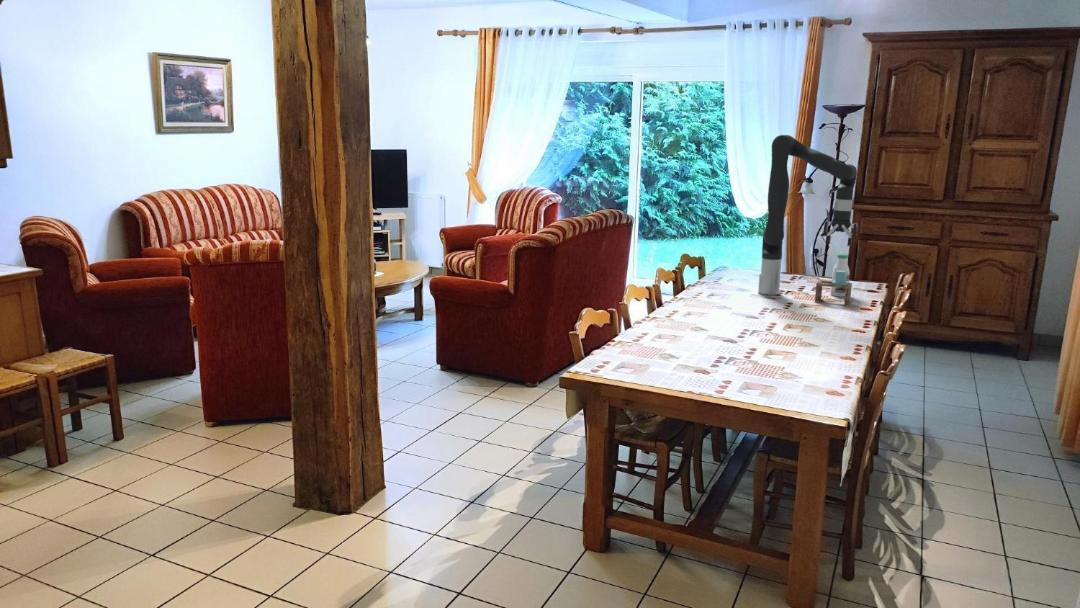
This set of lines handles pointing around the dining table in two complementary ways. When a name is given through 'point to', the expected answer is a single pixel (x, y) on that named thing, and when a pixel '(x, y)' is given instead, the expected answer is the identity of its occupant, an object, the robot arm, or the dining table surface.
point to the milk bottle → (842, 266)
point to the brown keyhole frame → (829, 284)
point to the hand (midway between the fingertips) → (838, 244)
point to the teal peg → (840, 280)
